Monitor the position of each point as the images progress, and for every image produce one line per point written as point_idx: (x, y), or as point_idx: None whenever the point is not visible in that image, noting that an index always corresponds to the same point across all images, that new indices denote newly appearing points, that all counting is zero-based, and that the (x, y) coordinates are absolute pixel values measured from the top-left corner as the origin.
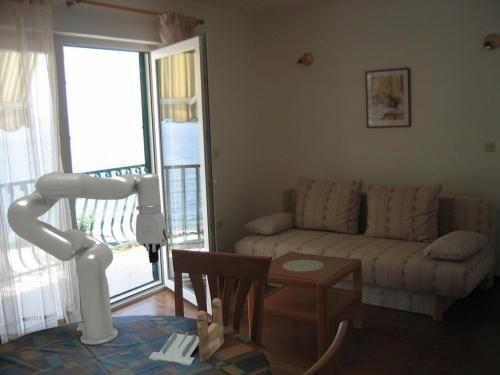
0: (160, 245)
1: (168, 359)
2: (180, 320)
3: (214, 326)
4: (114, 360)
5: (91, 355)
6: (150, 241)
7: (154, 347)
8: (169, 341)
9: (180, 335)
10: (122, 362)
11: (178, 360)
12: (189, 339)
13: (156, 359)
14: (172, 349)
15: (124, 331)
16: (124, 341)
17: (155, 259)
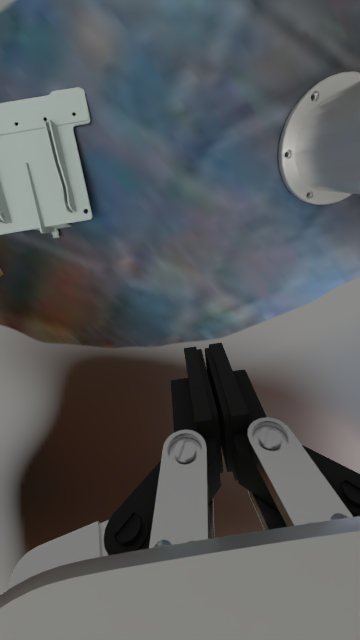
0: (93, 548)
1: (17, 105)
2: (181, 327)
3: None
4: (175, 12)
5: (277, 6)
6: (194, 614)
7: (127, 166)
8: (53, 161)
9: (62, 218)
10: (139, 12)
11: None
12: (23, 212)
13: (56, 93)
14: (41, 153)
15: (280, 214)
16: (238, 158)
17: (178, 381)
